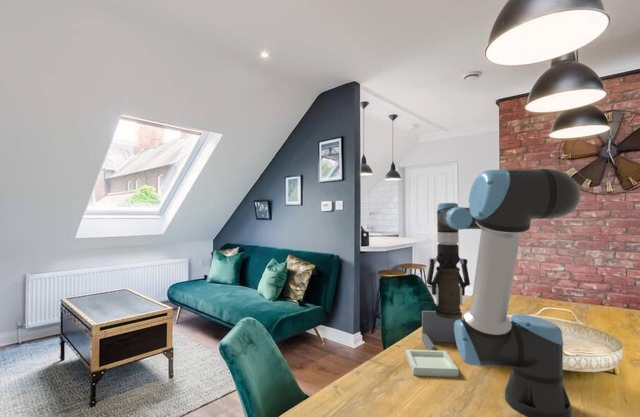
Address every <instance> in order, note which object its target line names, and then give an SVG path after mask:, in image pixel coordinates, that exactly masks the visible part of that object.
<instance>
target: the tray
mask: <svg viewBox="0 0 640 417" xmlns="http://www.w3.org/2000/svg"><path fill="white" fill-rule="evenodd" d="M405 358H406V361H407V363H408V366H409V368H410V370H411V372H412V375H413V376H418V377H419V376H420V377H442V378H443V377H447V378H459V373H460V372H459V367H458V366H457V365H456V364H455V362H454V361H453V359H452V358H451V357H450V355H449V353H447V351H446V350H439V349H438V350H436V349H435V350H427V349H406V348H405Z"/></svg>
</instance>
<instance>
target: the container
mask: <svg viewBox="0 0 640 417" xmlns="http://www.w3.org/2000/svg"><path fill="white" fill-rule="evenodd" d="M435 270H436V272H437V271H439V281H438V283H437V285H436V286H438V305H436V307H435V308H436V310H435V311H436V315H438V316H440V317H444V318H451V319H456V318H460V317H461V312H462V309H461V305H460V301H459V286H460V284H459V273H460V271H461V269H460V267H458V266H457V268H440V267H439V266H436V268H435ZM458 272H459V273H458ZM437 273H438V272H437Z"/></svg>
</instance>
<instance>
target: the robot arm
mask: <svg viewBox="0 0 640 417" xmlns="http://www.w3.org/2000/svg"><path fill="white" fill-rule="evenodd" d="M580 201H581V190H580V187H579V184H578V183H577V181H576V180H575V179H574V178H573V177H572V176H570V175H569V174H567V173H566V172H563V171H561V170H557V169H553V168H538V169H537V168H536V169H535V168H534V169H533V168H532V169H531V168H528V169H527V168H499V169H488V170H484V171H481V173H479V174H478V175H477V177H476V178H475V179H474V181H473V183H472V185H471V188H470V191H469V196H468V203H469V205H468V207H462V206H459V204H458V203H456V202H441V203H440V202H439V203H438V204H437V206H436V207H437V208H436V215H437V216H436V217H437V218H436V220H437V222H436V223H437V226H436V227H437V243H438V244H437V246H436V247H437V251H436V252H437V255H436V257H433V258H432V257H429V258H428V263H429V266H428V272H427V277H426V284H427V285H428V286H431V294H432V296H434V304H435V305H436V306H437V305H438V286H437V283H438V281H439V271H437V270H436V273H435V275H434V270H435V265H436V263H438V267H440V268H457V267H458V264H460V265H461V271H462V275H461V273H460V271H459V272H458V273H459V301H460V306H462V305H463V296H465V295H466V294H465V293H466V292H465V291H466V290H465V288H466V287H467V286H468V287H469V286H470V285H471V282H470V275H469V272H468V271H469V270H468V266H467V265H468V259H466V258H460V254H459V252H460V251H459V249H460V248H459V246H460V245H459V239H460V238H459V230H461V231H462V230H480V237H479V245H478V252H477V259H476V267H475V274H474V283H473V289H472V297H471V298H472V299H471V304H470V307H468V308H467V309H465V311H464V313H463V317H462V320H461V319H459V320H456V321H455V323H454V333H455V340H456V343H455V345H456V348H457V350H458V354H459V356H460V358H461V360H462V362H464V363H465V364H466V365H469V366H475V367H476V366H477V367H502V368H503V367H504V368H507V367H508V368H511V372H510V374H509V377H508V380H507V382H506V383H505V384H506V385H505V388H504V400H505V402H506V403H507V404H508V406H510V407H511V408H512V409H513V410H515V411H517V412H519V413H521V414H522V415H525V416H527V417H572V404H571V401H570V398H569V396H568V393H567V390H566V387H565V384H564V378H563V377H564V375H563V374H564V373H563V372H564V368H563V367H564V366H563V364H564V359H563V358H564V355H563V353H564V349H563V348H564V339H563V332H562V329H561V328H560V326H558V325H557V324H555V323H554V322H552V321H549V320H546V319H543V318H541V317H537V316H532V315H528V314H522V313H521V314H520V313H517V314H512V315H511V317H508V316H507V315H508V310H509V307H510V305H509V304H510V300H511V294H512V288H513V283H514V277H515V270H516V264H517V259H518V253H519V246H520V243H521V236H522V235H523V234H525V233H527V232H529V231H530V228H531V223H532V221H533V220H543V219H544V220H552V219H557V218H561V217H564V216H567V215H569V214H571V213H572V212H573V211H574V210H576V208H578V206H579V203H580ZM437 272H438V273H437ZM462 276H463V277H462ZM509 318H510V319H509Z"/></svg>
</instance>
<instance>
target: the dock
mask: <svg viewBox="0 0 640 417" xmlns="http://www.w3.org/2000/svg"><path fill="white" fill-rule="evenodd" d="M460 312H461V317H460V318H456V319H451V318H444V317H440V316H438V315H436V310H421V342H422V343H423V345H424V346H425V348H426V350H436V349H435V348H436V346H435V345H434V343H455V344H456V340H455V333H454V323H455V321H456V320H459V319H461V320H463V312H462V311H460Z"/></svg>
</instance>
